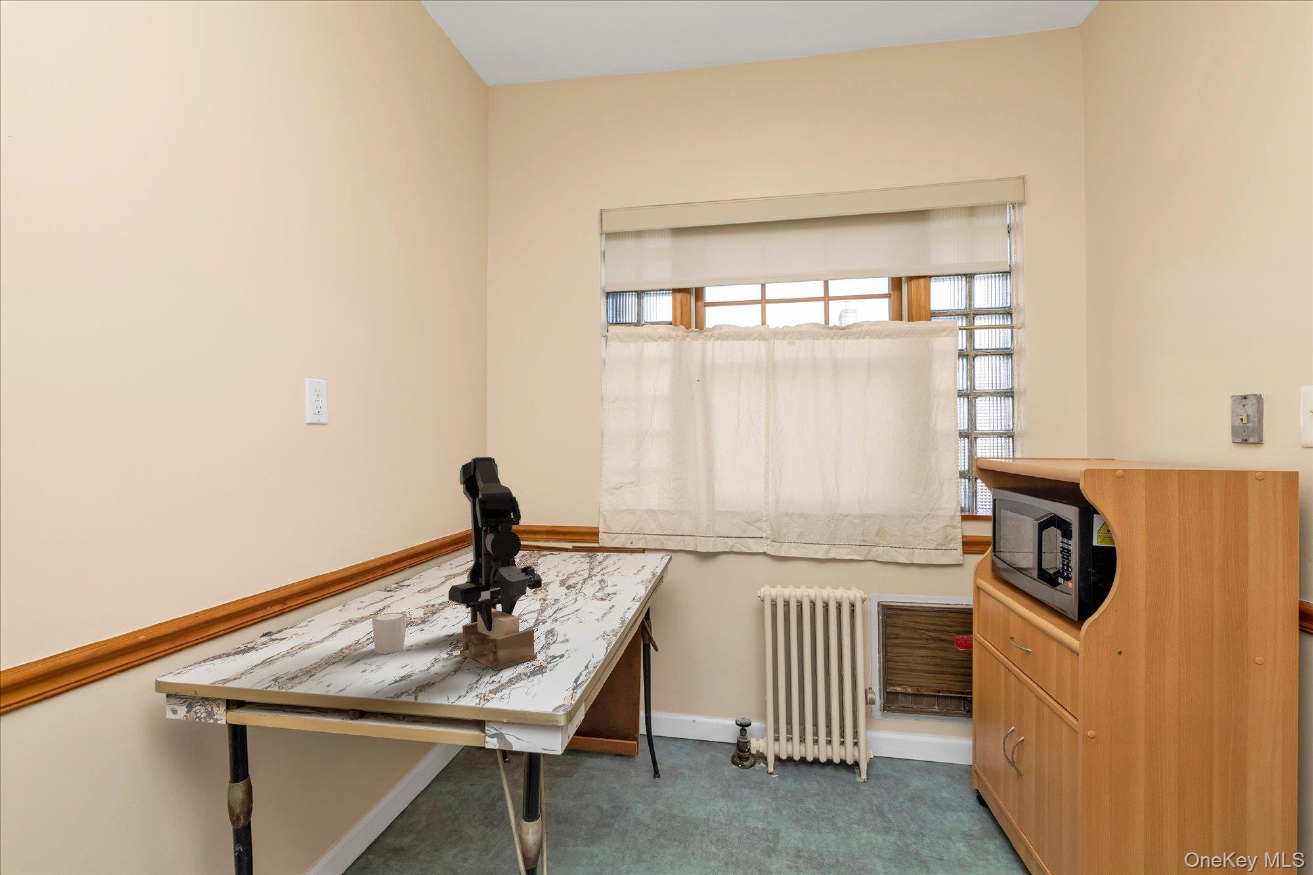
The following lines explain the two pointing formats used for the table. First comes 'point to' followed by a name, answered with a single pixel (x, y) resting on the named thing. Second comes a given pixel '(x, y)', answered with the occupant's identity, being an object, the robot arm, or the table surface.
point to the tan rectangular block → (500, 624)
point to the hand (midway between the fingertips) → (497, 628)
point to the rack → (498, 647)
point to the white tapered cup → (389, 632)
